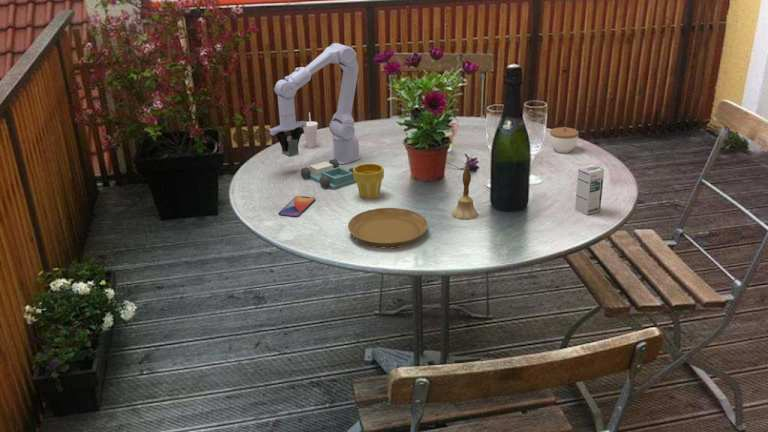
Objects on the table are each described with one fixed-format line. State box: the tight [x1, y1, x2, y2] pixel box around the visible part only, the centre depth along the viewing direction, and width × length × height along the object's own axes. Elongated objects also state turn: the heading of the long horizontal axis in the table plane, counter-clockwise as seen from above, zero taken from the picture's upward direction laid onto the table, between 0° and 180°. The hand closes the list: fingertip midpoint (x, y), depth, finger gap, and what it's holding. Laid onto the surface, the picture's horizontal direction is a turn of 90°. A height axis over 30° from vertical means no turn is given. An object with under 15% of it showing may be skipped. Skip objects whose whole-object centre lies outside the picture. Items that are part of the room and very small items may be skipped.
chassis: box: [300, 159, 357, 191], centre depth 261 cm, size 14×20×4 cm
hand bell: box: [451, 166, 479, 221], centre depth 227 cm, size 8×8×16 cm
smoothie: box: [302, 112, 319, 149], centre depth 292 cm, size 6×6×14 cm
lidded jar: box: [549, 126, 580, 154], centre depth 281 cm, size 11×11×9 cm
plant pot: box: [353, 163, 385, 200], centre depth 245 cm, size 10×10×10 cm
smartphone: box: [277, 195, 316, 218], centre depth 239 cm, size 7×15×1 cm, turn 162°
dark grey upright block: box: [281, 135, 300, 158], centre depth 264 cm, size 4×5×6 cm
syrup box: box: [574, 164, 605, 216], centre depth 228 cm, size 6×6×14 cm
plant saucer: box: [347, 207, 429, 249], centre depth 219 cm, size 24×24×3 cm
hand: (290, 149), depth 265 cm, fingers closed on dark grey upright block, 4 cm apart
